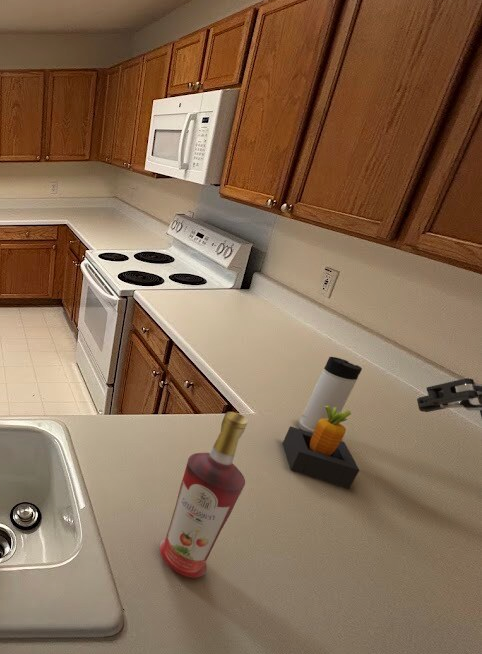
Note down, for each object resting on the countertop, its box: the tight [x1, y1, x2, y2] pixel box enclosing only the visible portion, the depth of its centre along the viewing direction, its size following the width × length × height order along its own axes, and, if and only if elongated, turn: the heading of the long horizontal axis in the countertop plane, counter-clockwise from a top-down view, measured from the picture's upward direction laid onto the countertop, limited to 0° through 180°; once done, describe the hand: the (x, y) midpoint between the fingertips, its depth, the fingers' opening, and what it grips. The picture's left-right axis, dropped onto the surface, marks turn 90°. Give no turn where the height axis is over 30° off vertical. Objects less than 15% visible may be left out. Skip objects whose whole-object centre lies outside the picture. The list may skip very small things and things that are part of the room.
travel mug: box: [297, 356, 363, 433], centre depth 99 cm, size 6×7×20 cm
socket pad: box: [282, 425, 360, 490], centre depth 90 cm, size 10×10×5 cm
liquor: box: [159, 411, 249, 578], centre depth 60 cm, size 7×7×28 cm
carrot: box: [309, 406, 352, 456], centre depth 88 cm, size 5×5×15 cm
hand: (451, 410), depth 64 cm, fingers open, 8 cm apart
